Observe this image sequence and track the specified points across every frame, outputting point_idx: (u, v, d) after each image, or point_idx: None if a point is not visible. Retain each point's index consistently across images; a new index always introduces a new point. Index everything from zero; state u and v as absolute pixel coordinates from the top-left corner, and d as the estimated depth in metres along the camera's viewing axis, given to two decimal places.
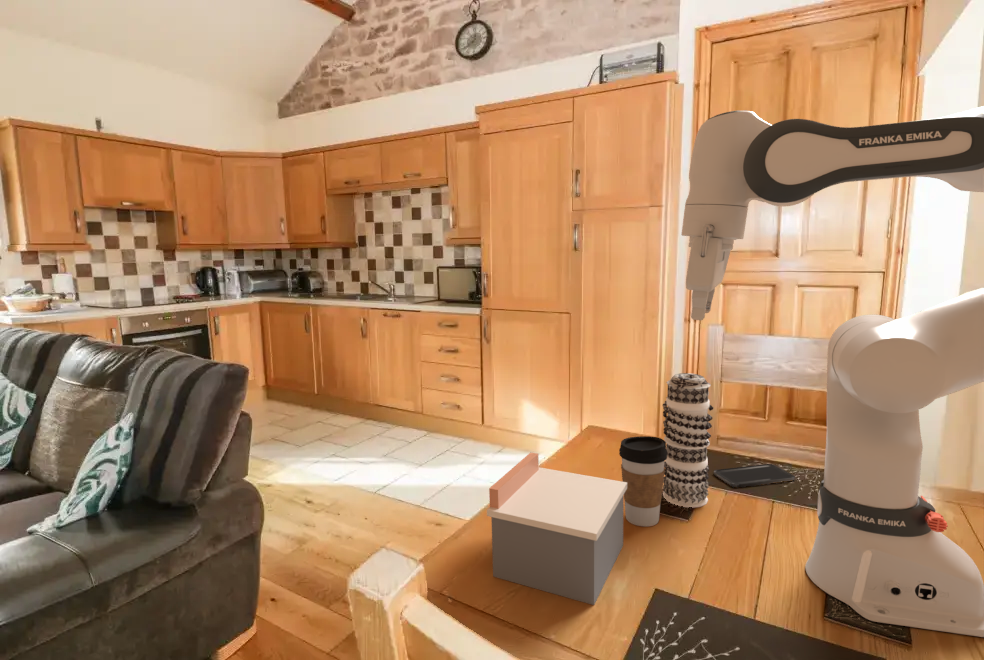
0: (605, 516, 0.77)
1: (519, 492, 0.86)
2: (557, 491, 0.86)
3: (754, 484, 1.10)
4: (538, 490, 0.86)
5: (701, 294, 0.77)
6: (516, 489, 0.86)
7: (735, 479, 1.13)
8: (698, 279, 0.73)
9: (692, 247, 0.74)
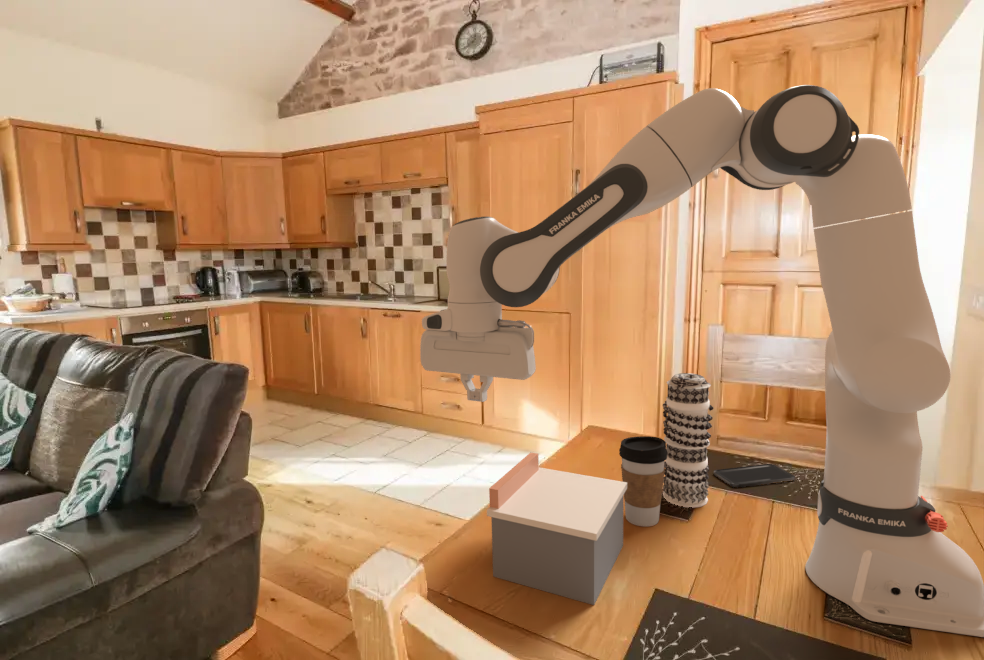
0: (605, 516, 0.77)
1: (519, 492, 0.86)
2: (557, 491, 0.86)
3: (754, 484, 1.11)
4: (538, 490, 0.86)
5: (491, 378, 0.87)
6: (516, 489, 0.86)
7: (735, 479, 1.13)
8: (531, 368, 0.83)
9: (523, 343, 0.82)
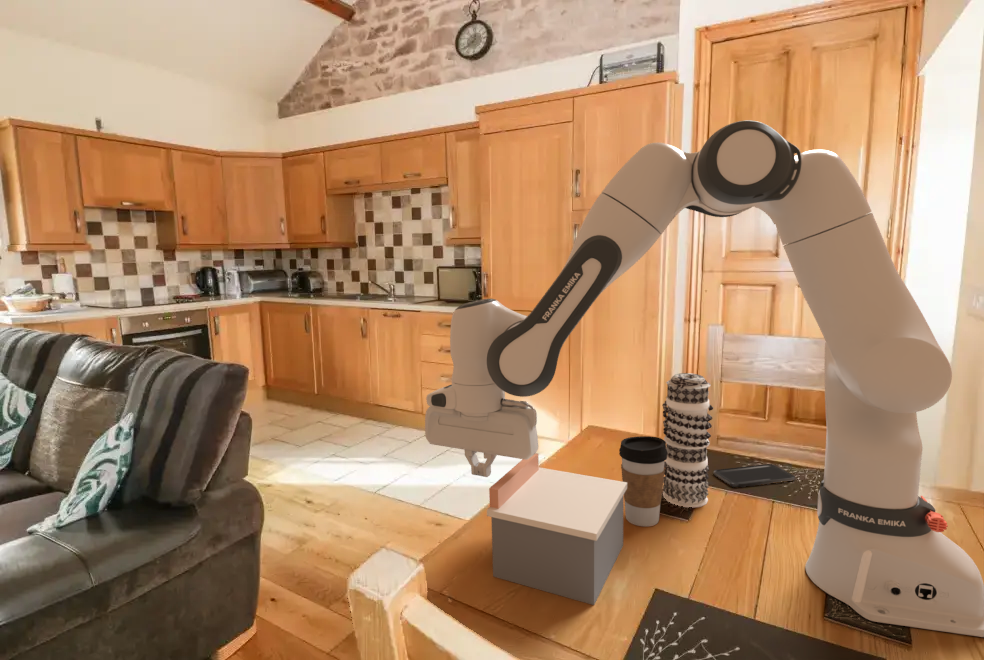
0: (605, 516, 0.77)
1: (519, 492, 0.86)
2: (557, 491, 0.86)
3: (754, 484, 1.11)
4: (538, 490, 0.86)
5: (494, 454, 0.89)
6: (516, 489, 0.86)
7: (735, 479, 1.13)
8: (534, 448, 0.85)
9: (526, 424, 0.84)
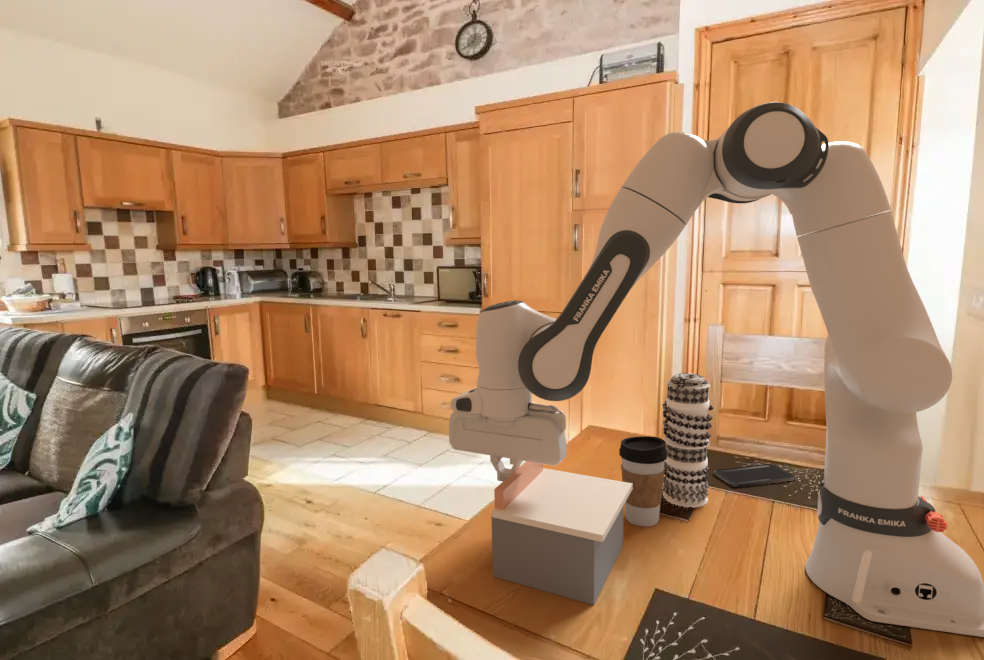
0: (611, 517, 0.77)
1: (524, 493, 0.85)
2: (562, 492, 0.85)
3: (754, 484, 1.11)
4: (543, 491, 0.86)
5: (520, 460, 0.87)
6: (521, 490, 0.86)
7: (735, 479, 1.13)
8: (563, 453, 0.83)
9: (555, 429, 0.81)
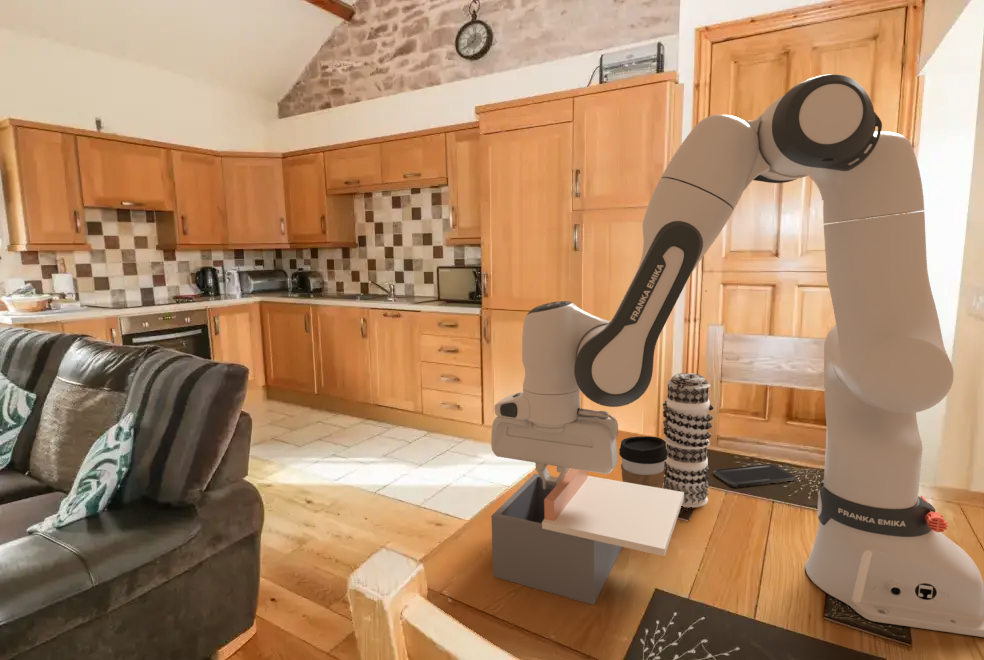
0: (669, 529, 0.73)
1: (572, 503, 0.82)
2: (612, 502, 0.82)
3: (754, 484, 1.11)
4: (592, 500, 0.82)
5: (568, 467, 0.83)
6: (569, 499, 0.82)
7: (735, 479, 1.13)
8: (615, 461, 0.79)
9: (608, 436, 0.78)
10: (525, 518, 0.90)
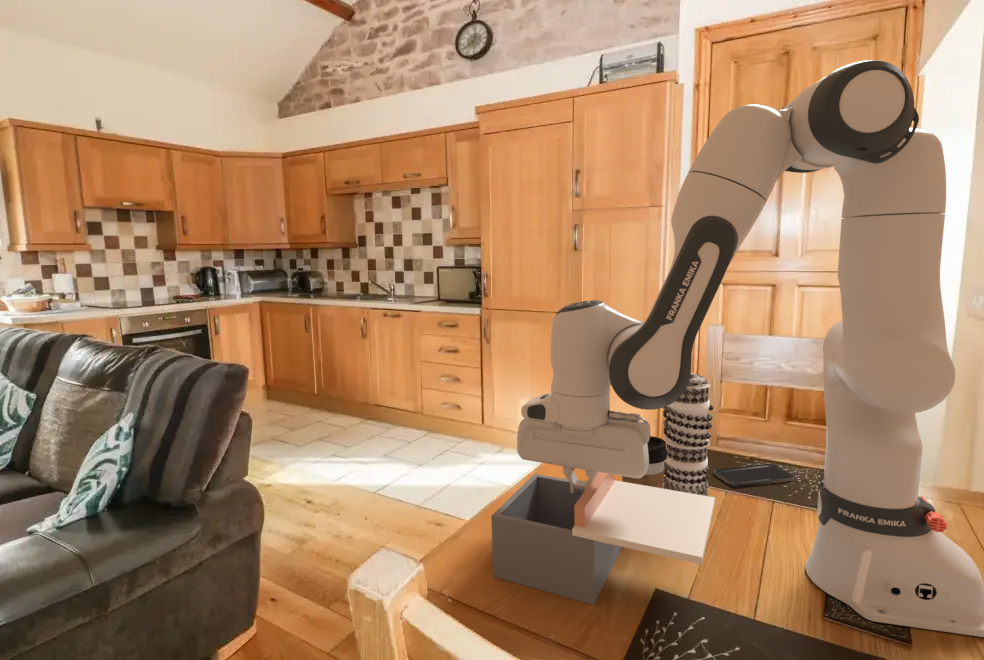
0: (705, 536, 0.71)
1: (601, 508, 0.80)
2: (642, 507, 0.79)
3: (754, 484, 1.11)
4: (621, 506, 0.80)
5: (596, 471, 0.81)
6: (598, 505, 0.80)
7: (735, 479, 1.13)
8: (647, 465, 0.77)
9: (640, 439, 0.76)
10: (525, 518, 0.90)
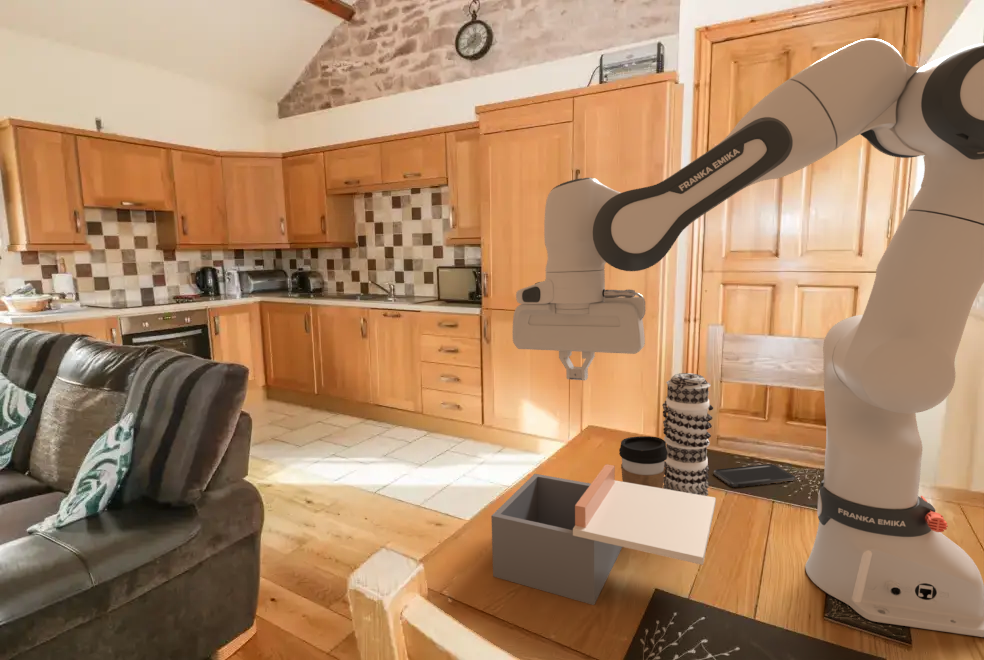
0: (705, 536, 0.71)
1: (602, 508, 0.80)
2: (643, 508, 0.79)
3: (754, 484, 1.11)
4: (622, 506, 0.80)
5: (593, 354, 0.81)
6: (598, 505, 0.80)
7: (735, 479, 1.13)
8: (642, 341, 0.77)
9: (635, 313, 0.75)
10: (525, 518, 0.90)
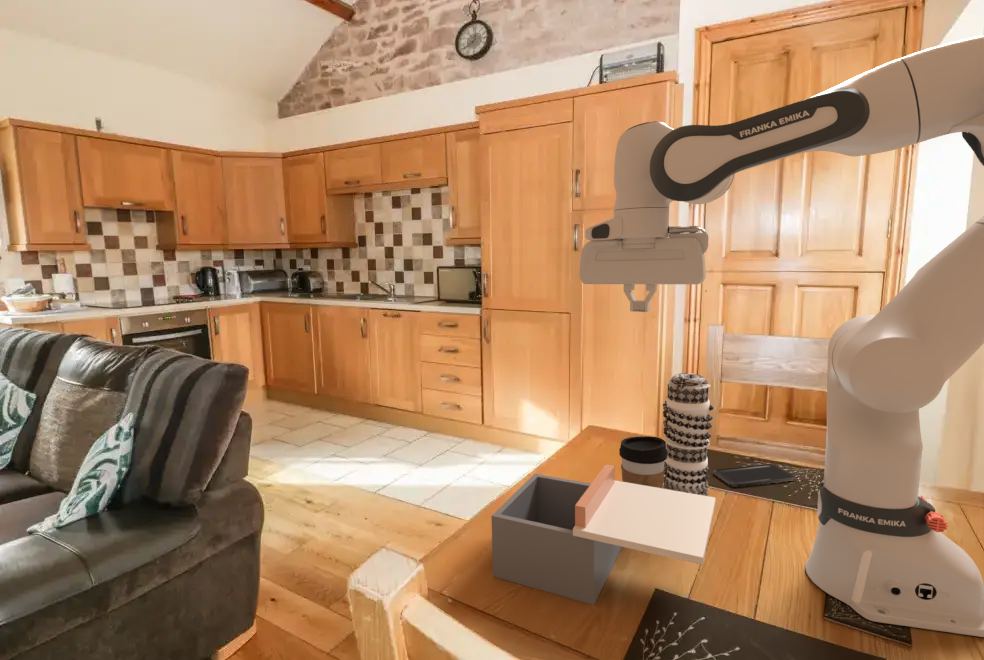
0: (705, 536, 0.71)
1: (602, 508, 0.80)
2: (643, 508, 0.79)
3: (754, 484, 1.11)
4: (622, 506, 0.80)
5: (656, 288, 0.88)
6: (598, 505, 0.80)
7: (735, 479, 1.13)
8: (704, 273, 0.84)
9: (699, 246, 0.82)
10: (525, 518, 0.90)
